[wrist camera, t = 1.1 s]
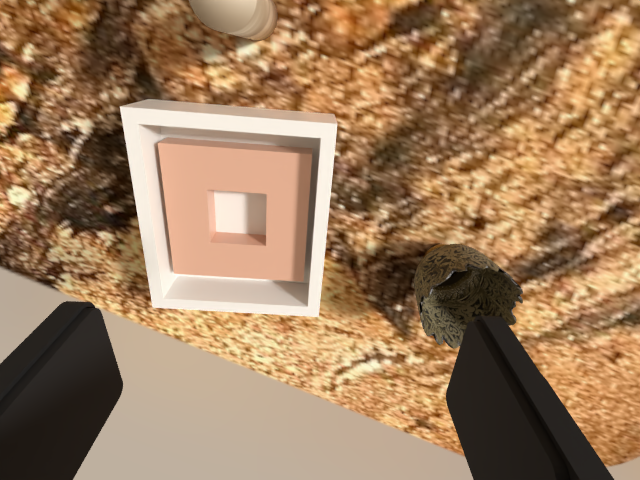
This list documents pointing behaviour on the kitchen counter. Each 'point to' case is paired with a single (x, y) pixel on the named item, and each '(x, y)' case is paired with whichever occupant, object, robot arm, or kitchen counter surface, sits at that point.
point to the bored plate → (238, 176)
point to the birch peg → (238, 16)
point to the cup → (461, 291)
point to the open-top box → (228, 202)
